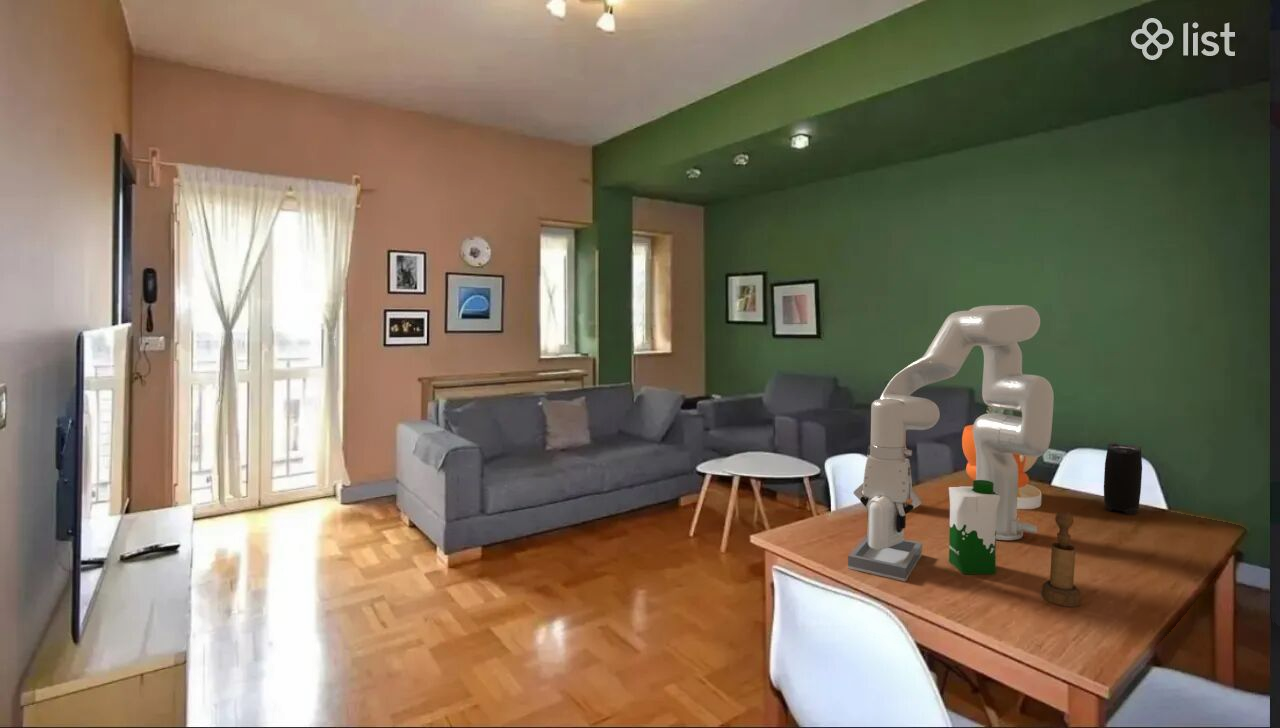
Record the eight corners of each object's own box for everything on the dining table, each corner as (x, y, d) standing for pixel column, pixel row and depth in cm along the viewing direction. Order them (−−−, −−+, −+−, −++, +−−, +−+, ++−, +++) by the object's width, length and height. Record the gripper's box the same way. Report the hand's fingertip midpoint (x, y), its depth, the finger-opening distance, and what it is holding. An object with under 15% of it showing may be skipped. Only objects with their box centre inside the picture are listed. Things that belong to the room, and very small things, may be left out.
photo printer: (889, 536, 147) (890, 487, 146) (906, 542, 143) (907, 491, 142) (864, 546, 141) (865, 494, 140) (881, 552, 138) (882, 499, 137)
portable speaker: (1139, 509, 176) (1143, 444, 174) (1139, 517, 169) (1143, 450, 167) (1103, 503, 181) (1106, 441, 180) (1101, 511, 174) (1105, 446, 173)
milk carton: (1002, 575, 134) (1005, 487, 132) (960, 576, 134) (963, 488, 133) (981, 559, 143) (983, 476, 141) (942, 560, 143) (944, 477, 141)
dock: (921, 554, 146) (922, 542, 146) (905, 581, 132) (905, 568, 132) (868, 544, 153) (869, 532, 153) (847, 568, 139) (848, 555, 139)
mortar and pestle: (1082, 610, 118) (1086, 520, 117) (1042, 602, 122) (1045, 515, 120) (1079, 596, 124) (1082, 510, 122) (1041, 589, 127) (1044, 505, 126)
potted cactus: (1024, 489, 197) (1027, 382, 194) (1054, 511, 175) (1058, 391, 172) (952, 486, 202) (954, 382, 199) (972, 507, 180) (975, 391, 177)
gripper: (931, 453, 139) (929, 530, 140) (854, 445, 149) (853, 517, 150) (924, 460, 133) (922, 540, 134) (845, 451, 143) (844, 525, 144)
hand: (886, 527), depth 142 cm, fingers closed on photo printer, 5 cm apart
